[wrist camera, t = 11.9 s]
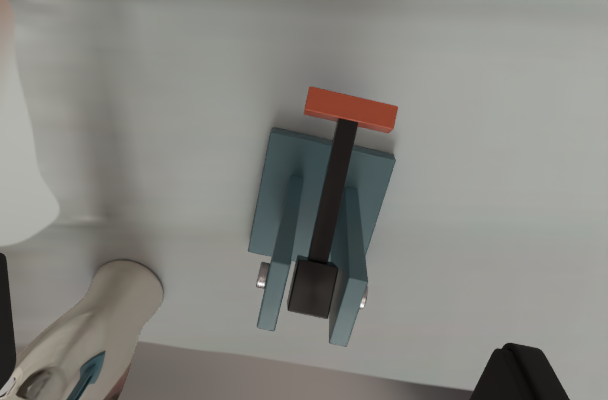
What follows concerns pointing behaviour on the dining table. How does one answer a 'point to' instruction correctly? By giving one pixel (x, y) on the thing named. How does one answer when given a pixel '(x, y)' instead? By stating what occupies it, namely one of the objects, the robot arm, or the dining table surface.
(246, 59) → the dining table surface
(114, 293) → the metal tumbler
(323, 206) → the lever
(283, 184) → the bracket
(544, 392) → the robot arm
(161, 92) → the dining table surface
